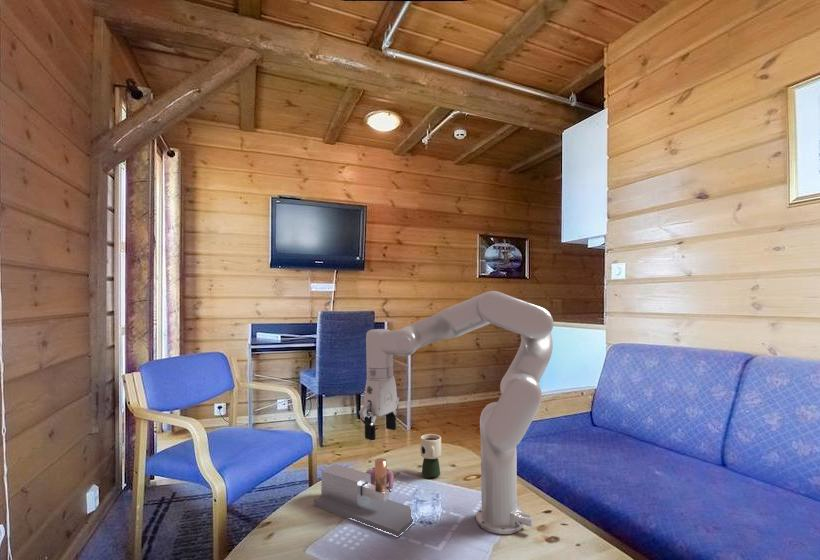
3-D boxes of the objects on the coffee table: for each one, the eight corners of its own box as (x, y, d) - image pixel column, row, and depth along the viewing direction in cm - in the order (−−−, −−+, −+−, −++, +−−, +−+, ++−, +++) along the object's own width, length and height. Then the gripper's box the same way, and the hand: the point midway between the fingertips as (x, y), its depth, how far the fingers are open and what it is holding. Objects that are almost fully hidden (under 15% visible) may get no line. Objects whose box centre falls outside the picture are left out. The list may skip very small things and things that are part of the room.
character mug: (419, 469, 144) (419, 432, 144) (438, 468, 144) (438, 431, 145) (422, 483, 133) (422, 443, 134) (443, 482, 134) (443, 442, 134)
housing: (370, 499, 119) (370, 474, 119) (357, 508, 114) (357, 482, 114) (335, 488, 126) (335, 463, 127) (321, 495, 121) (321, 470, 122)
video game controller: (394, 491, 131) (395, 467, 134) (392, 491, 127) (393, 466, 130) (363, 490, 131) (365, 467, 135) (361, 490, 127) (363, 465, 131)
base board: (422, 516, 113) (422, 510, 113) (398, 538, 103) (398, 531, 103) (341, 489, 129) (341, 484, 129) (313, 505, 119) (313, 500, 119)
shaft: (389, 497, 113) (389, 460, 114) (383, 502, 111) (383, 464, 111) (335, 480, 125) (335, 446, 125) (328, 484, 122) (328, 449, 122)
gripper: (371, 379, 106) (372, 446, 105) (407, 369, 120) (408, 427, 119) (349, 377, 110) (350, 441, 109) (387, 367, 124) (388, 423, 123)
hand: (380, 434), depth 114 cm, fingers open, 9 cm apart
